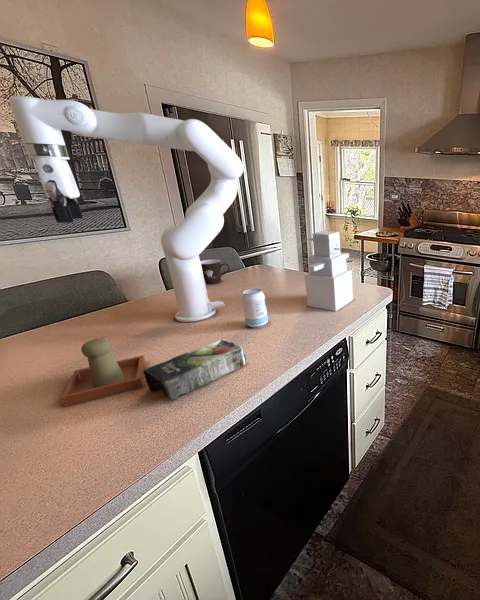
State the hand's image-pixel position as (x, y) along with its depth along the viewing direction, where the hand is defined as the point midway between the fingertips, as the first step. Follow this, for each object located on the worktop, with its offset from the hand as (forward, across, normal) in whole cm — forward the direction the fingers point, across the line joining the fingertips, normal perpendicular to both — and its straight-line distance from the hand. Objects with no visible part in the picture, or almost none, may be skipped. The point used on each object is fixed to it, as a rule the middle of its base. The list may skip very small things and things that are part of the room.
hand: (70, 220), depth 90 cm
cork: (+35, -32, -5) cm, 48 cm away
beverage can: (+35, -16, -41) cm, 57 cm away
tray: (+35, -32, -5) cm, 48 cm away
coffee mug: (+35, +43, -33) cm, 65 cm away
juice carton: (+36, -41, -24) cm, 59 cm away
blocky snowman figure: (+35, -9, -70) cm, 79 cm away
